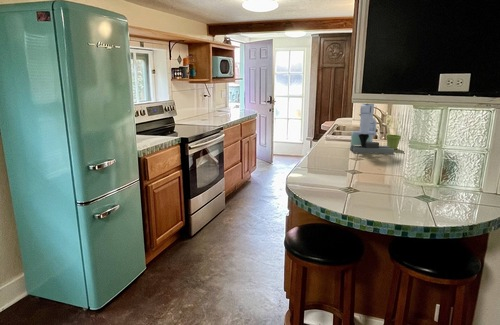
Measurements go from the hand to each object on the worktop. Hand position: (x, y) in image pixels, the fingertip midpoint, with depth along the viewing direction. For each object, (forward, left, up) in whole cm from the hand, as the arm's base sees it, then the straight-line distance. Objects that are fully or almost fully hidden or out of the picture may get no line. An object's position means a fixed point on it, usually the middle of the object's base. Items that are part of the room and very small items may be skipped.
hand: (362, 146), depth 212 cm
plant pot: (-11, +23, -4) cm, 26 cm away
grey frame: (-1, +6, -3) cm, 7 cm away
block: (0, +5, -3) cm, 6 cm away
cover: (-5, 0, +4) cm, 6 cm away
